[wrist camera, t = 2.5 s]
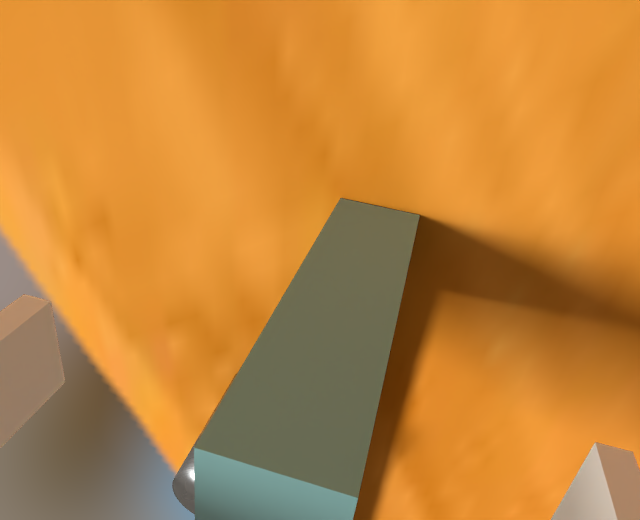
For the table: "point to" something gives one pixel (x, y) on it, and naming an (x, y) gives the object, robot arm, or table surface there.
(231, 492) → the teal bent bar
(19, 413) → the robot arm
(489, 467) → the table surface
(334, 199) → the table surface
